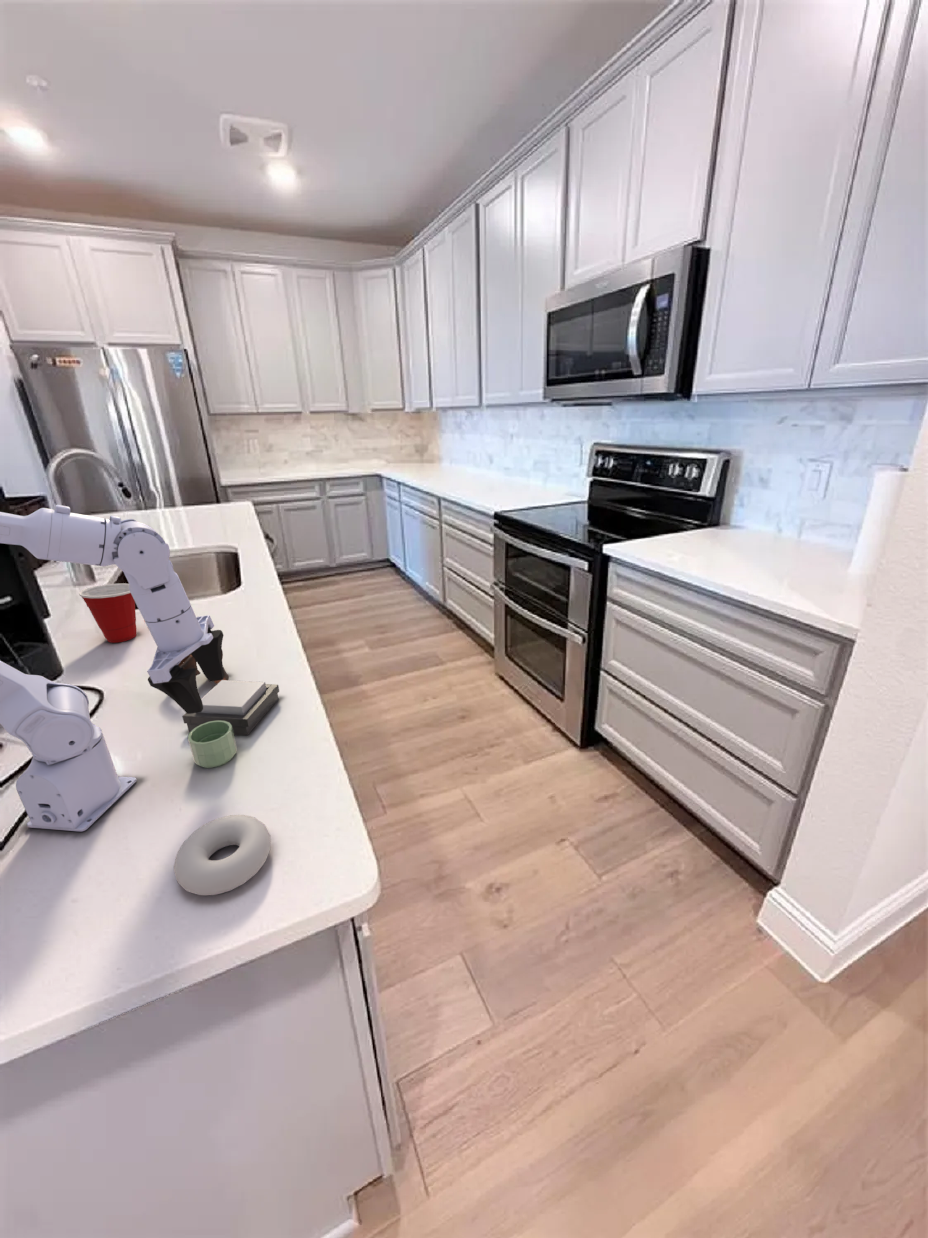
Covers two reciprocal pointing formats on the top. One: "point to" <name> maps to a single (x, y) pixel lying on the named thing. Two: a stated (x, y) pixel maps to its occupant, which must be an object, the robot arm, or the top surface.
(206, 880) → the donut
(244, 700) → the scale pan
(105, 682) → the top surface
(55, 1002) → the top surface
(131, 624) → the plastic cup
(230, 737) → the bowl
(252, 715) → the scale
